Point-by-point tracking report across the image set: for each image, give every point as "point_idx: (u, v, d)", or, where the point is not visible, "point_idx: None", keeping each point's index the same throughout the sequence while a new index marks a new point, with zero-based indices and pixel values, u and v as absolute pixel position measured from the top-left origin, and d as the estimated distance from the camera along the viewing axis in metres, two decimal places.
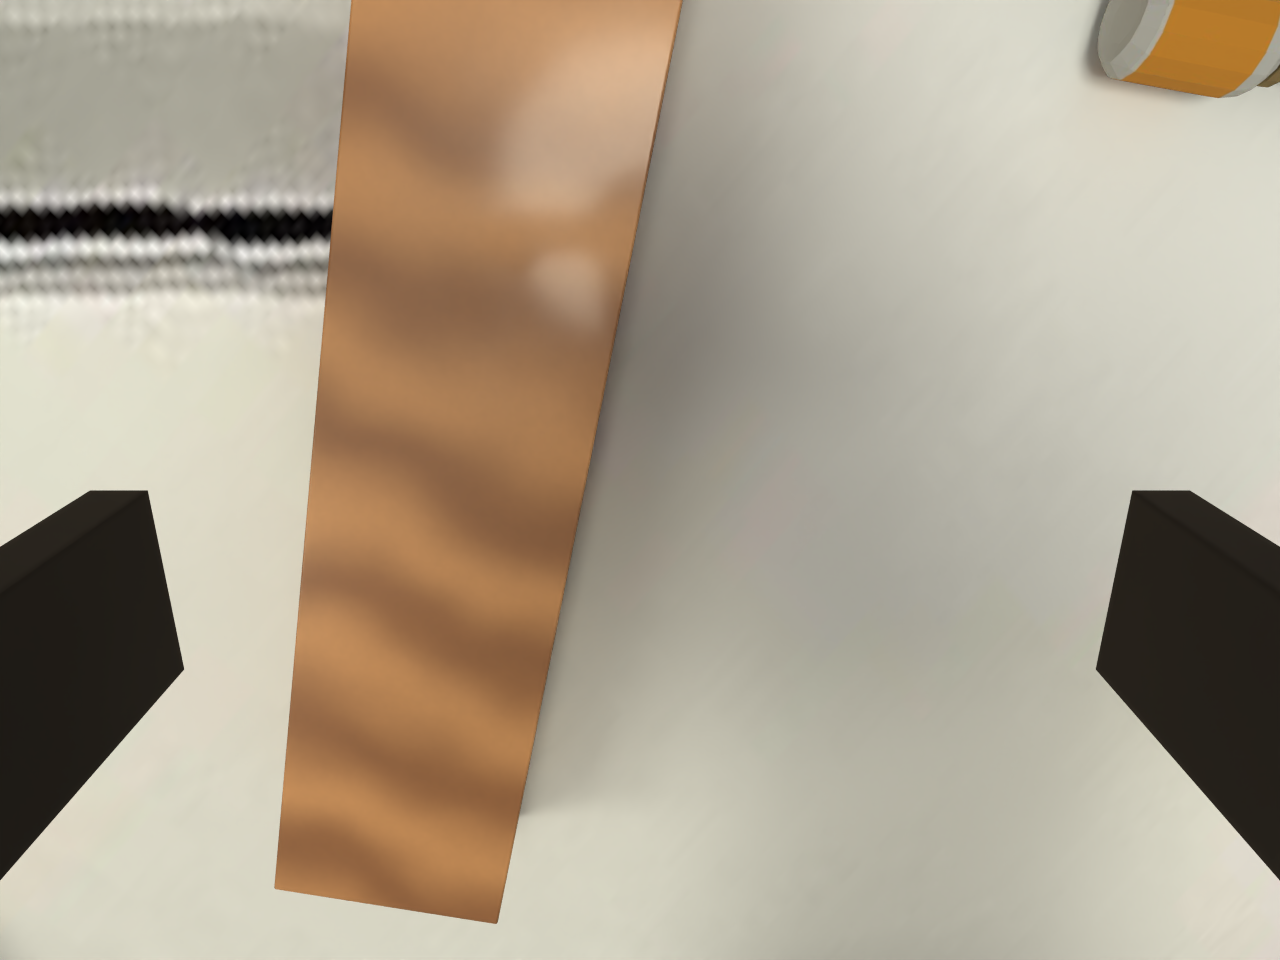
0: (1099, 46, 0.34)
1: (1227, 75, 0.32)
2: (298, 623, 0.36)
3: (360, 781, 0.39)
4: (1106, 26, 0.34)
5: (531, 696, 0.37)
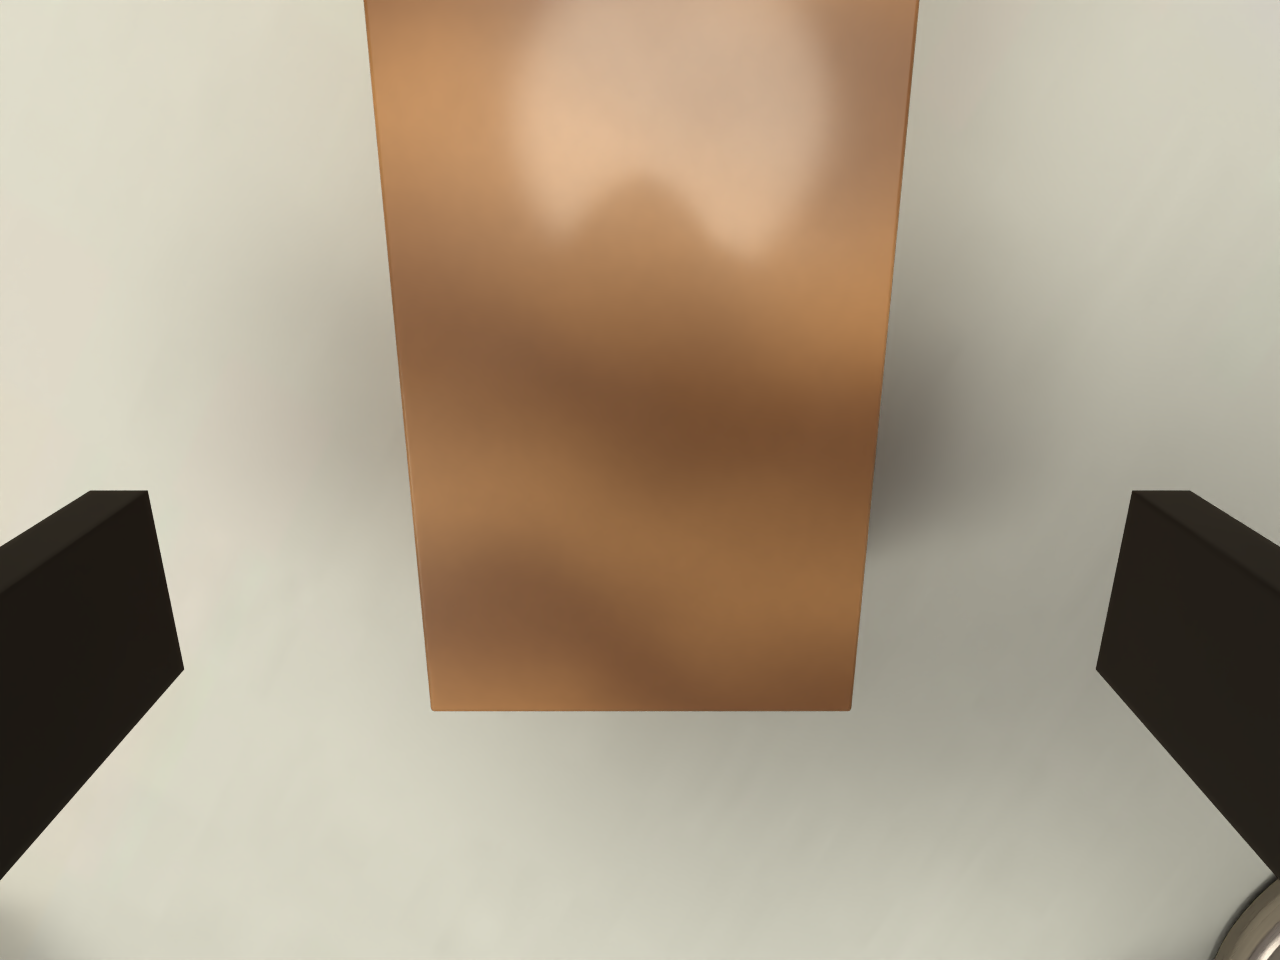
0: None
1: None
2: (374, 85, 0.17)
3: (555, 446, 0.20)
4: None
5: (880, 165, 0.17)
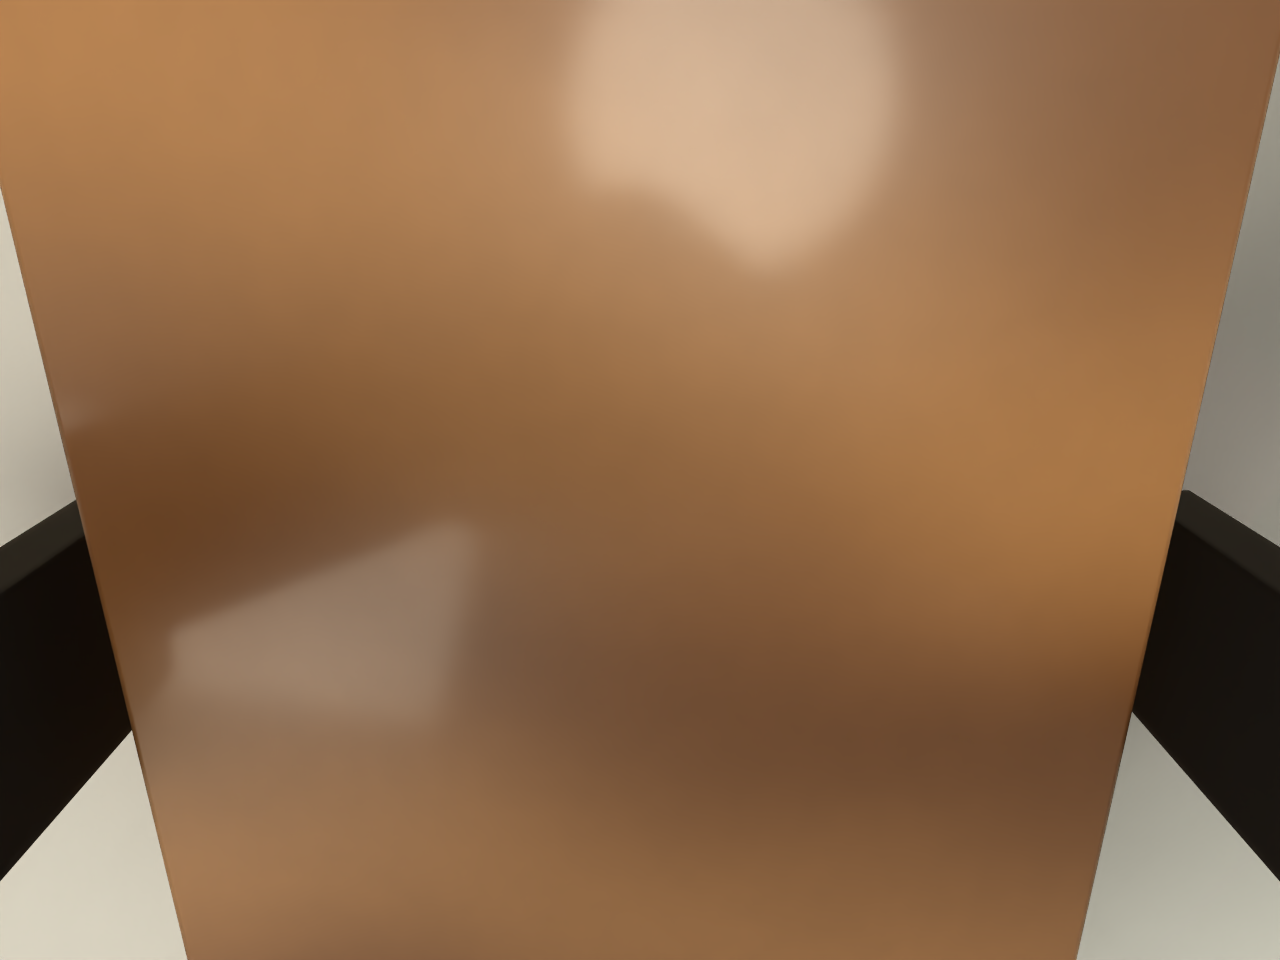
0: None
1: None
2: None
3: (452, 765, 0.09)
4: None
5: (1202, 176, 0.07)
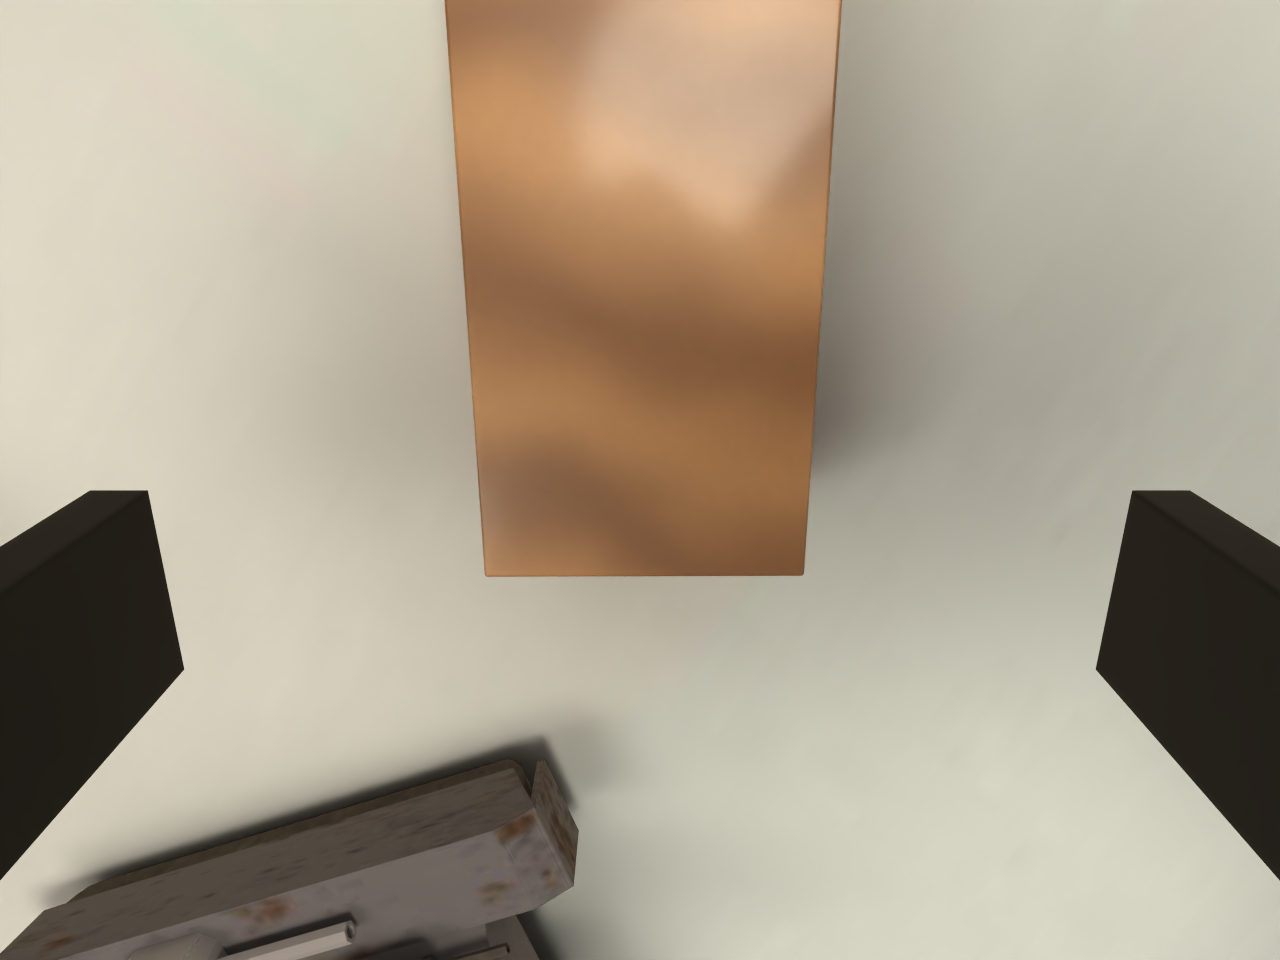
0: None
1: None
2: (453, 105, 0.24)
3: (580, 369, 0.26)
4: None
5: (815, 160, 0.24)
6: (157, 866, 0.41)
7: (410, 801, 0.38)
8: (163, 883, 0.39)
